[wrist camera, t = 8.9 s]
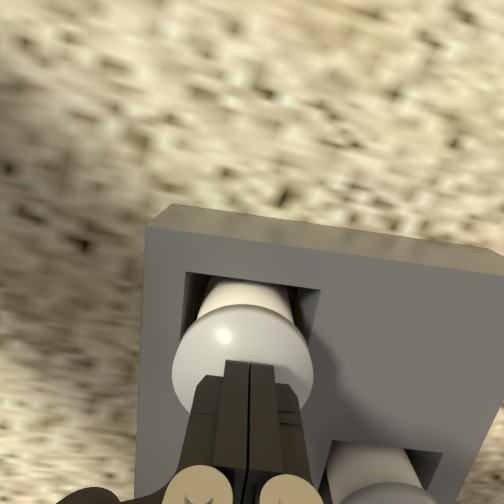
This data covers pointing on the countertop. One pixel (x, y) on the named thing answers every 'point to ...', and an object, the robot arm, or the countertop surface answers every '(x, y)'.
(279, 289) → the knob
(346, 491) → the knob side
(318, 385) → the mount
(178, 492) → the robot arm
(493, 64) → the countertop surface
